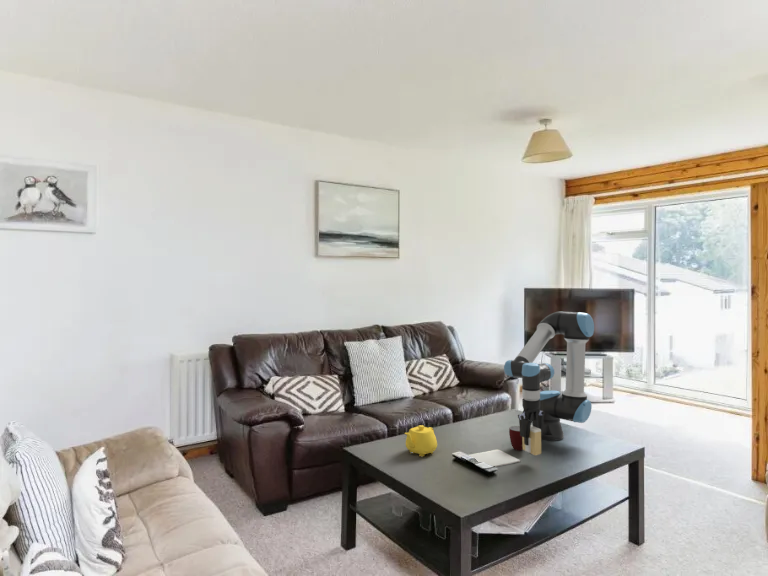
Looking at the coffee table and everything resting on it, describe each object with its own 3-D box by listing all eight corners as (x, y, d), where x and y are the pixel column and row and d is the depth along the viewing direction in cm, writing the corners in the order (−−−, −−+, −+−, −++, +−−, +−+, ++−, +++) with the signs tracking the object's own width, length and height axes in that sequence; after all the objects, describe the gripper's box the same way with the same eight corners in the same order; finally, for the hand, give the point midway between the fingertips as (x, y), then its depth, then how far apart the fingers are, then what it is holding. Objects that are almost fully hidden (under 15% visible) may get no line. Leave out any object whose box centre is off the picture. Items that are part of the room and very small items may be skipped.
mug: (533, 452, 234) (533, 431, 234) (518, 454, 231) (518, 433, 231) (520, 445, 244) (520, 425, 244) (505, 447, 241) (505, 427, 241)
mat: (498, 450, 237) (498, 449, 237) (520, 461, 223) (520, 460, 223) (460, 457, 229) (460, 456, 229) (481, 469, 214) (481, 468, 214)
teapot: (444, 451, 236) (444, 425, 236) (415, 462, 222) (415, 434, 222) (422, 444, 246) (422, 419, 246) (393, 455, 232) (393, 427, 232)
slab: (528, 448, 225) (528, 423, 225) (541, 453, 218) (540, 429, 217) (522, 449, 224) (522, 425, 223) (535, 455, 216) (534, 430, 216)
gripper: (539, 394, 226) (540, 445, 228) (510, 399, 219) (511, 451, 221) (551, 398, 220) (552, 450, 221) (522, 403, 213) (522, 457, 214)
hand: (531, 450), depth 221 cm, fingers closed on slab, 3 cm apart
